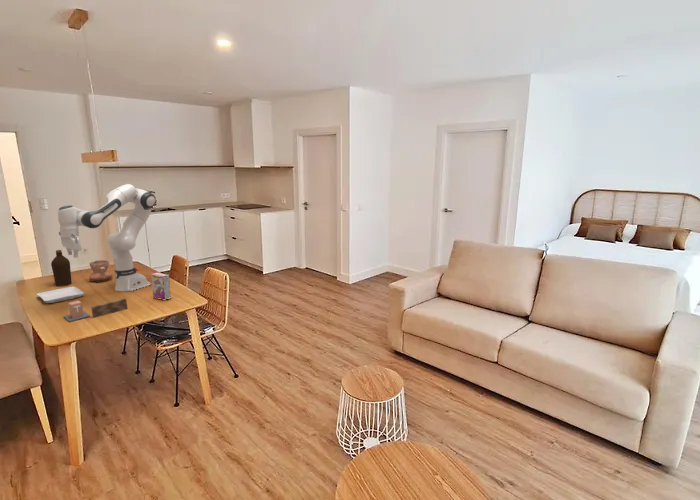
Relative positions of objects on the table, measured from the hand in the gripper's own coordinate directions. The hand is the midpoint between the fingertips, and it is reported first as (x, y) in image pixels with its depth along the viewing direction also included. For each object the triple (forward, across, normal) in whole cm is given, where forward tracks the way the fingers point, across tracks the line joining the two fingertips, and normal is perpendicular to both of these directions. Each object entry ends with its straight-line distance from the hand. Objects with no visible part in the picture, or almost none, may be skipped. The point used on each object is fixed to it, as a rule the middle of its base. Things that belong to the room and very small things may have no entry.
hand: (73, 256), depth 230 cm
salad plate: (+32, +24, +3) cm, 40 cm away
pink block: (+30, -20, +8) cm, 37 cm away
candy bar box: (+31, -26, -38) cm, 56 cm away
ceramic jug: (+31, +45, -28) cm, 62 cm away
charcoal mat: (+31, -20, +8) cm, 38 cm away
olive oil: (+31, +53, -7) cm, 62 cm away
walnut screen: (+31, -26, -7) cm, 41 cm away
